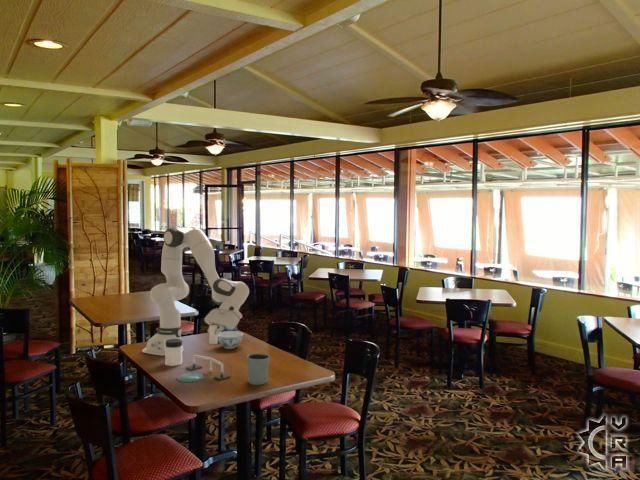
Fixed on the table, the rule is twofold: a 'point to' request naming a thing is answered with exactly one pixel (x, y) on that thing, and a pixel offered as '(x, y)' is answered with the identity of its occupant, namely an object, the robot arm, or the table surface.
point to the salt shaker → (213, 334)
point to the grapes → (229, 329)
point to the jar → (173, 352)
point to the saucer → (190, 377)
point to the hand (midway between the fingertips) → (212, 332)
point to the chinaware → (230, 338)
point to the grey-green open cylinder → (257, 368)
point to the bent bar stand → (218, 377)
